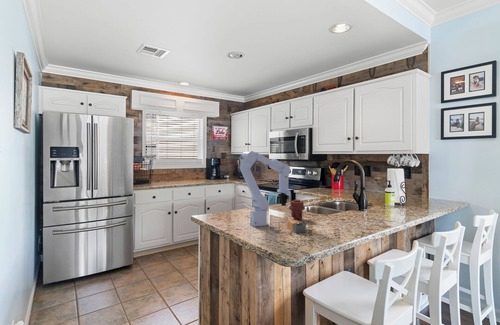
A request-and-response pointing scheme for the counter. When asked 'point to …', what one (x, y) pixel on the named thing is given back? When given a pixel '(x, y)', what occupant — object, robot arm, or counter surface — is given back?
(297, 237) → the counter surface
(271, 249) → the counter surface
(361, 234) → the counter surface
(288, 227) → the notched orange block
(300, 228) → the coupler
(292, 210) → the mechanical component
